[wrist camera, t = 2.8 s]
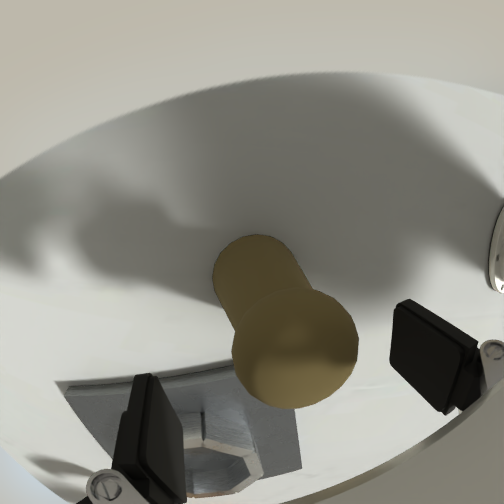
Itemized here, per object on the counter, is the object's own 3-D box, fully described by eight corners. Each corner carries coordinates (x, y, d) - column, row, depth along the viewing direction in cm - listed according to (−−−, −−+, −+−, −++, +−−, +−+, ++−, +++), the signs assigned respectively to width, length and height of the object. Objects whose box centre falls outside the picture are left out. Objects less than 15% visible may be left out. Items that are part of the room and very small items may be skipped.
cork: (245, 330, 21) (281, 445, 10) (194, 269, 19) (187, 371, 8) (311, 283, 21) (397, 369, 10) (267, 216, 19) (345, 262, 8)
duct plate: (282, 353, 22) (299, 387, 17) (298, 459, 27) (309, 487, 22) (69, 386, 19) (53, 418, 15) (144, 482, 24) (143, 508, 20)
